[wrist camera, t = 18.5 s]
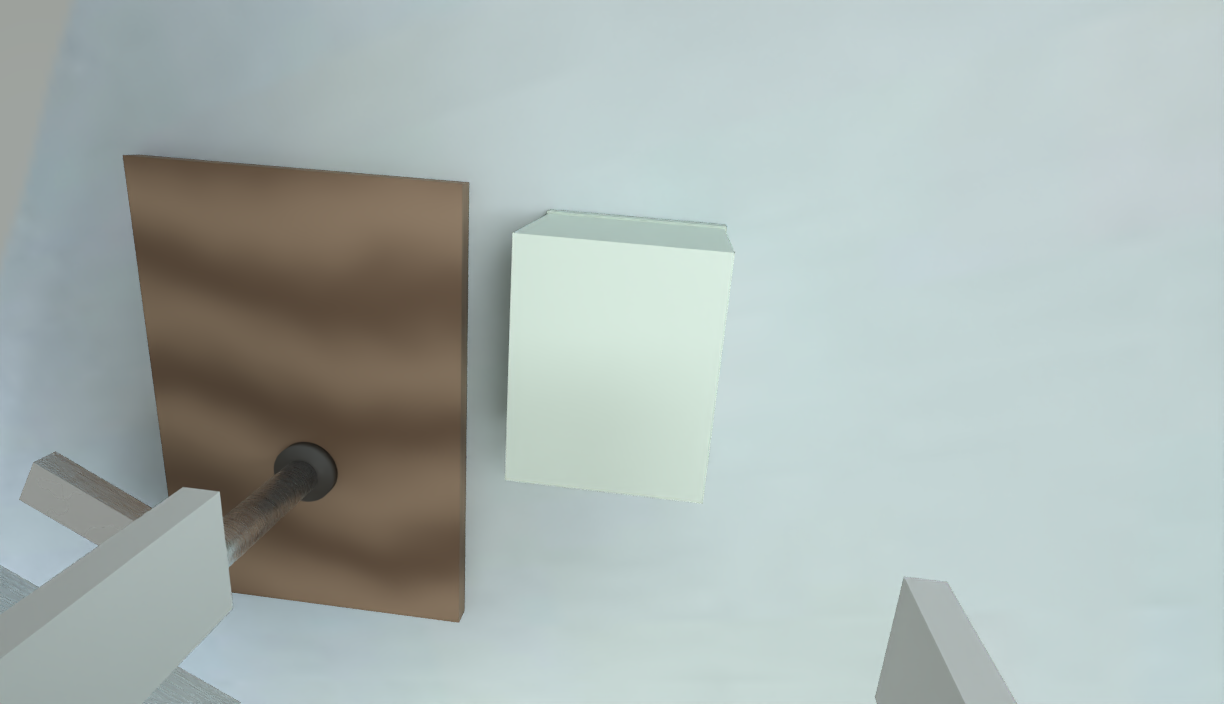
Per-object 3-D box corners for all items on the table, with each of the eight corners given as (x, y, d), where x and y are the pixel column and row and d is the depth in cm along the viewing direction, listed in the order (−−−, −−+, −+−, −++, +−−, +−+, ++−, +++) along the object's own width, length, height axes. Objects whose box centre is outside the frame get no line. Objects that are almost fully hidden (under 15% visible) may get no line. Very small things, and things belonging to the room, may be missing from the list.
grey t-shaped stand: (168, 424, 36) (-222, 639, 20) (188, 379, 35) (-203, 568, 20) (371, 546, 37) (145, 838, 21) (396, 505, 36) (178, 780, 20)
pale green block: (551, 208, 33) (509, 230, 25) (725, 224, 32) (737, 250, 24) (541, 409, 36) (502, 482, 28) (700, 426, 35) (705, 506, 27)
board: (138, 154, 34) (112, 155, 32) (469, 182, 32) (458, 184, 31) (192, 575, 41) (173, 592, 39) (464, 610, 40) (455, 629, 38)
